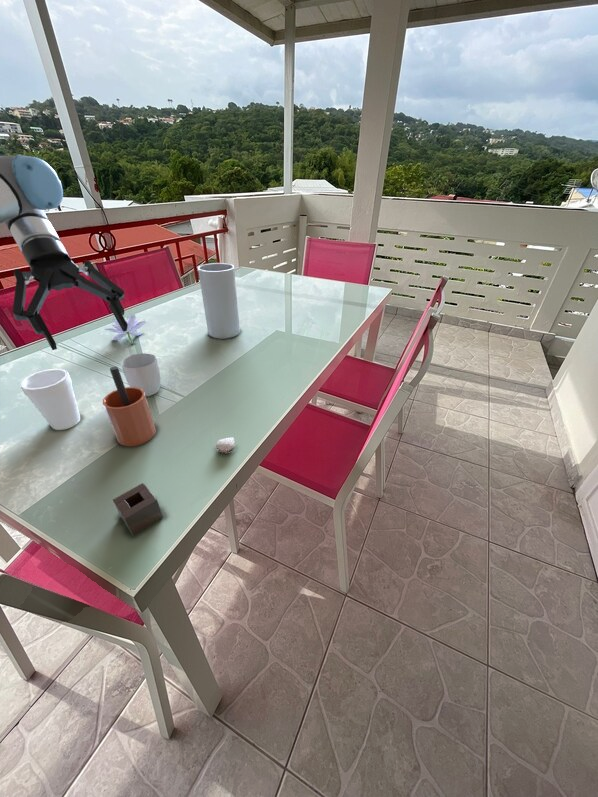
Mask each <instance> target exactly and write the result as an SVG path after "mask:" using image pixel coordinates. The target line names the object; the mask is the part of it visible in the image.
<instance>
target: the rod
mask: <svg viewBox="0 0 598 797" xmlns="http://www.w3.org/2000/svg"><path fill="white" fill-rule="evenodd" d="M109 370H110V374H111V376H112V377H111V378H112V379H113V383H114V385H115V388H116V390H117V391H118V394H119V396H120V399H121V402H122V405H123V407H125V406H129V405H131V404H130V401H129V398H128V395H127V392H126V389H125V388H126V387H125V386H126V385H125V384H124V380H123V377H122V374H121V371H120V369H119V367H118V366H115V365H114V366H111V367H110V368H109Z"/></svg>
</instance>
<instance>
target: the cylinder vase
mask: <svg viewBox="0 0 598 797" xmlns="http://www.w3.org/2000/svg"><path fill="white" fill-rule="evenodd" d="M197 271H198V278H199V284H200V290H201V297H202V304H203V309H204V316H205V322H206V329H207V334H208V335H209V336H210V337H211V338H214V339H221V340H225V339H231V338H234V337H237V336H238V335H239V334H240V332H241V326H240V315H239V306H238V294H237V285H236V274H235V266H234V265H233V264H231V263H225V262H213V263H205V264H201V265H199V266H198V267H197Z"/></svg>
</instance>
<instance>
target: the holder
mask: <svg viewBox="0 0 598 797" xmlns="http://www.w3.org/2000/svg"><path fill="white" fill-rule="evenodd" d="M112 501H113V504H114V505H115V508H116V510H117V512H118V514H119V516H120V518H121V520H122V522H123V523H124V524H125V526H126V527H127V529H128V531H129V532H130V534H131V536H132V537H134V536H136V535H137V534H139V533H141V532H142V531H144V530H146V528H148V527H150V526H152V525H153V524H154V523H156V522H158V521H159V520H161V519H162V518H163V517H164V516H163V513H162V510H161V508H160V505H159V501H158V499H157V498H156V496H155V495H154V494H153V493H152V492H151V490H150V489H149V488H148V486H147V485H146V484H145V482H142V483H140V484H138V485H136V486H134V487H133V488H131V489H129V490H127V491H125V492H124V493H122V494H120V495H119V496H117V497H115V498H112Z"/></svg>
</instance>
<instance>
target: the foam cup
mask: <svg viewBox="0 0 598 797" xmlns="http://www.w3.org/2000/svg"><path fill="white" fill-rule="evenodd" d="M72 383H73V382H72V378H71V376H70V374H69V371H68V370H65V369H64V368H49V369H43V370H40V371H36V372H34V373H30V374H29V375H28V376H25V377H24V378H23V379H22V380H21V381H20V384H19V387H20V388H21V390H22V392H23V394H24V395H25V397H27V398H28V399H29V400H30V401H31V403H32V404H33V405H34V407H35V408H36V409H37V411H38V412H39V413H40V414H41V416H42V417H43V418H44V419H45V421H46V422H47V423H48V424H49V426H51V428H52V429H53V430H56V431H63V430H67V429H70V428H73V427H74V426H76V425H78V424H79V423H80V421H81V414H80V411H79V407H78V403H77V399H76V395H75V393H74V388H73V384H72Z"/></svg>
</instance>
